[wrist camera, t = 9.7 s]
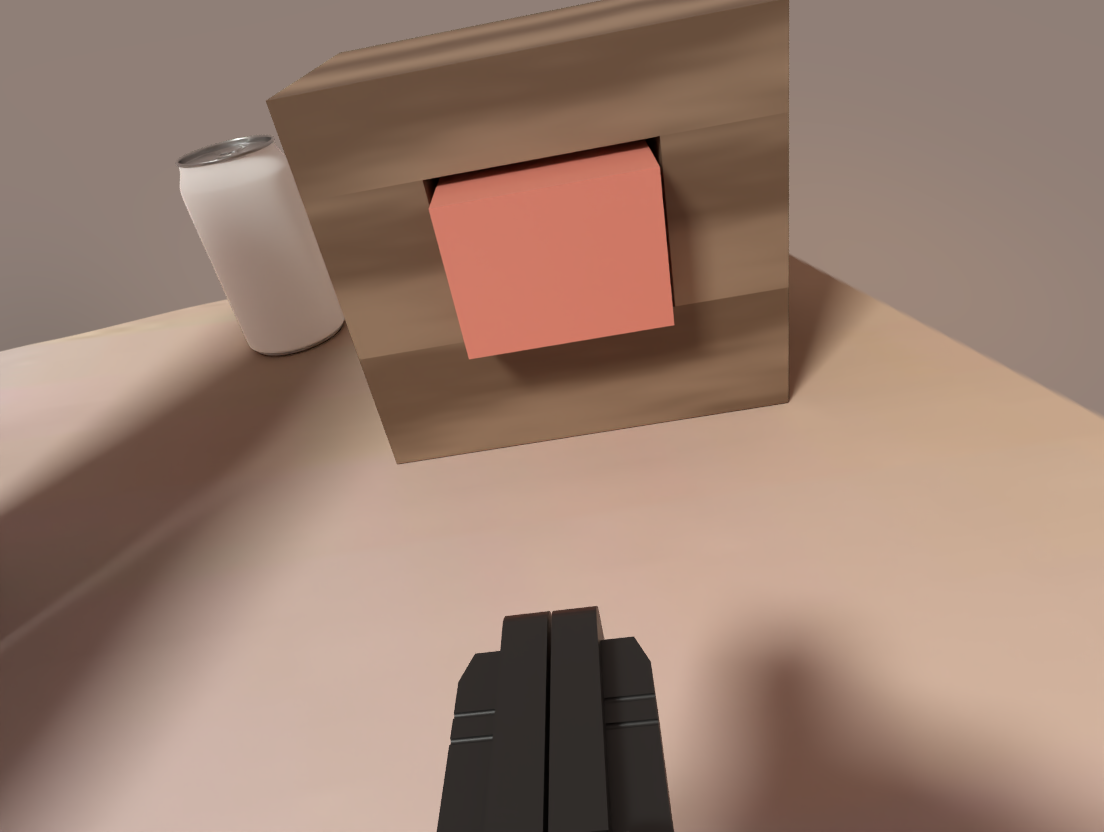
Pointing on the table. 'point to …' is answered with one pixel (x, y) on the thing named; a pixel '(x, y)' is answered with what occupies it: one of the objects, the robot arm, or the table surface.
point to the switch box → (542, 131)
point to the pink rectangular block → (555, 249)
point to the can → (260, 244)
